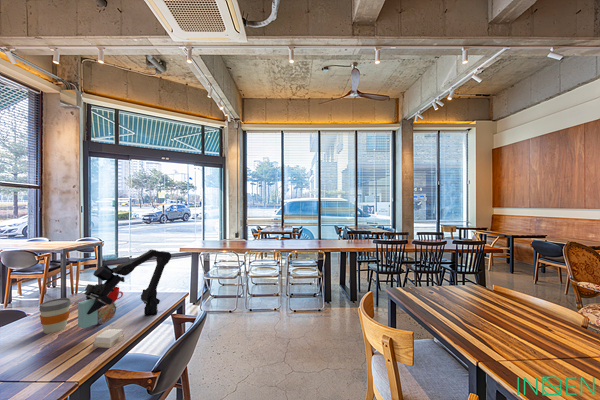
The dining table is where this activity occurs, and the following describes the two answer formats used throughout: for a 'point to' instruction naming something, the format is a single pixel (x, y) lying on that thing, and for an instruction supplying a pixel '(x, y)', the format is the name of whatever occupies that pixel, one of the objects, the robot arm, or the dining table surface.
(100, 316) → the tin
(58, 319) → the reusable coffee cup
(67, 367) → the dining table surface
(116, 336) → the tower top
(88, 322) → the teal pillar
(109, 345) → the tower base
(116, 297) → the ceramic cup
